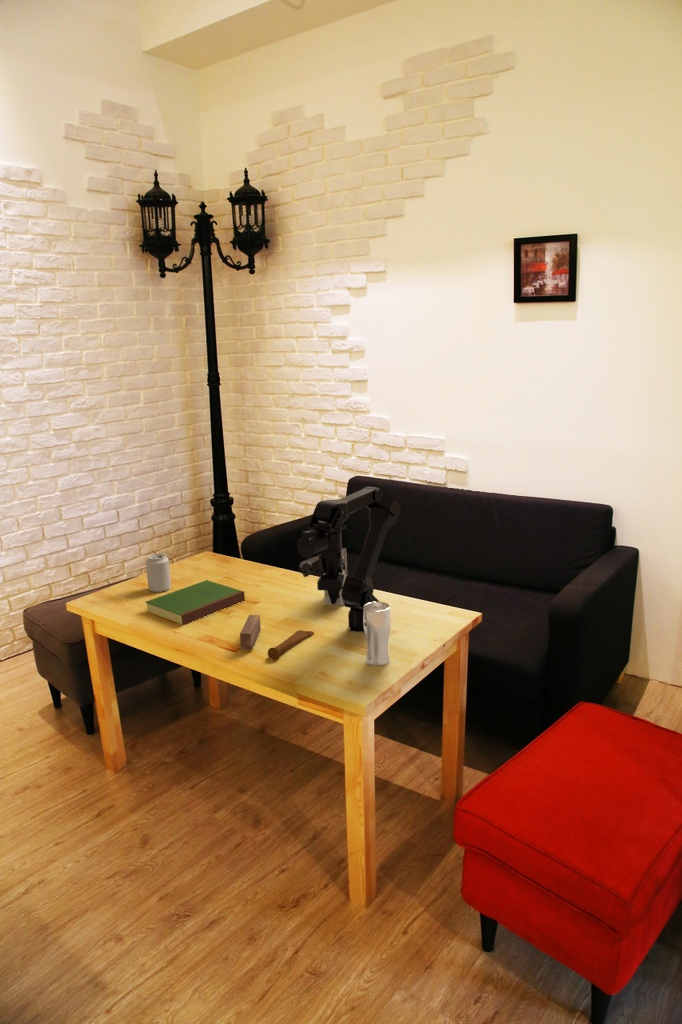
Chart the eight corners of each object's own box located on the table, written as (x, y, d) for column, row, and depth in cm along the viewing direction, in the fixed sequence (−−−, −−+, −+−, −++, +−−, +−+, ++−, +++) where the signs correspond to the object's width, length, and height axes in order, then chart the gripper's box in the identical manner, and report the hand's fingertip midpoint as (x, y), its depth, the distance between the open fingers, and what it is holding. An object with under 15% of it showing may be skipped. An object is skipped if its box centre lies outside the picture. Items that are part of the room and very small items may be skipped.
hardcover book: (183, 627, 209) (182, 615, 208) (146, 613, 221) (145, 601, 220) (246, 601, 228) (245, 590, 227) (209, 589, 240) (208, 579, 239)
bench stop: (260, 631, 203) (259, 614, 202) (252, 650, 191) (250, 633, 189) (250, 631, 203) (249, 614, 202) (241, 650, 191) (239, 633, 190)
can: (175, 588, 240) (172, 554, 238) (157, 594, 235) (153, 560, 232) (162, 584, 245) (159, 551, 242) (144, 590, 240) (140, 556, 237)
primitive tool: (298, 631, 203) (298, 620, 202) (316, 634, 201) (315, 622, 200) (266, 660, 186) (265, 647, 185) (284, 663, 184) (284, 651, 183)
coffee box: (329, 594, 230) (327, 547, 226) (348, 595, 229) (347, 547, 225) (324, 605, 221) (321, 555, 217) (344, 605, 220) (342, 556, 216)
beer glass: (386, 668, 178) (385, 612, 174) (360, 664, 180) (358, 609, 177) (395, 657, 184) (394, 602, 180) (370, 653, 187) (368, 599, 183)
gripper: (305, 538, 197) (307, 591, 201) (296, 559, 179) (299, 617, 183) (345, 538, 196) (346, 591, 200) (340, 559, 178) (342, 617, 182)
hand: (333, 603), depth 191 cm, fingers closed
